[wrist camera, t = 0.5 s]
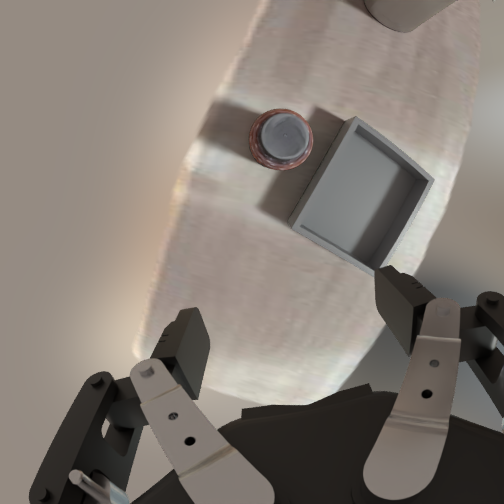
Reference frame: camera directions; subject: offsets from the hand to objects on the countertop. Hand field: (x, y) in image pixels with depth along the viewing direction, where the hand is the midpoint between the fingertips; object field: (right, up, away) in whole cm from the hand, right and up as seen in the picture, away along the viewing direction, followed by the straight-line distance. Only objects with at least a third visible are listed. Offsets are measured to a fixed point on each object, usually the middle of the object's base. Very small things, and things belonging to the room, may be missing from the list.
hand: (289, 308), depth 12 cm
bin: (+12, +9, +21) cm, 26 cm away
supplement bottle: (+1, +15, +20) cm, 25 cm away
